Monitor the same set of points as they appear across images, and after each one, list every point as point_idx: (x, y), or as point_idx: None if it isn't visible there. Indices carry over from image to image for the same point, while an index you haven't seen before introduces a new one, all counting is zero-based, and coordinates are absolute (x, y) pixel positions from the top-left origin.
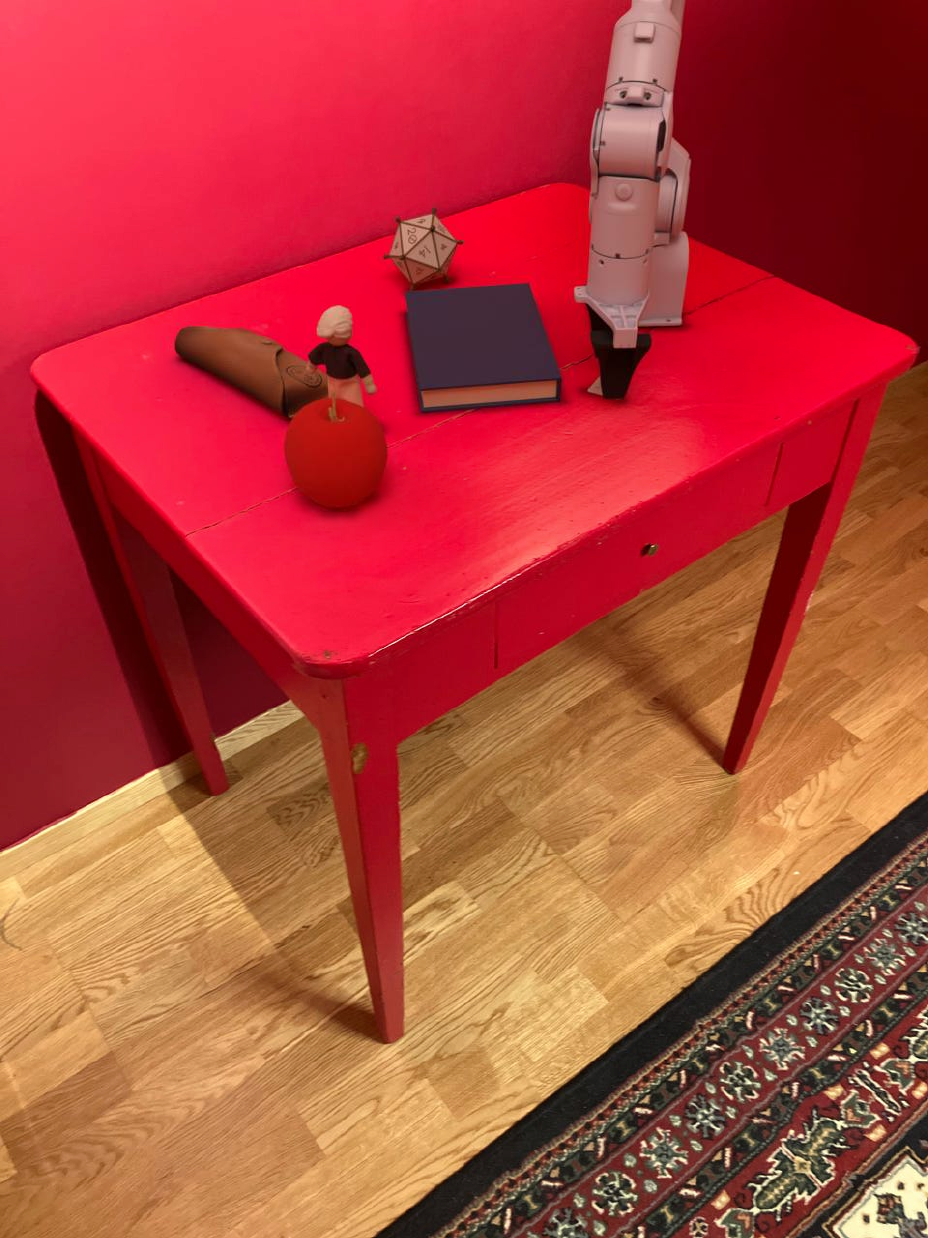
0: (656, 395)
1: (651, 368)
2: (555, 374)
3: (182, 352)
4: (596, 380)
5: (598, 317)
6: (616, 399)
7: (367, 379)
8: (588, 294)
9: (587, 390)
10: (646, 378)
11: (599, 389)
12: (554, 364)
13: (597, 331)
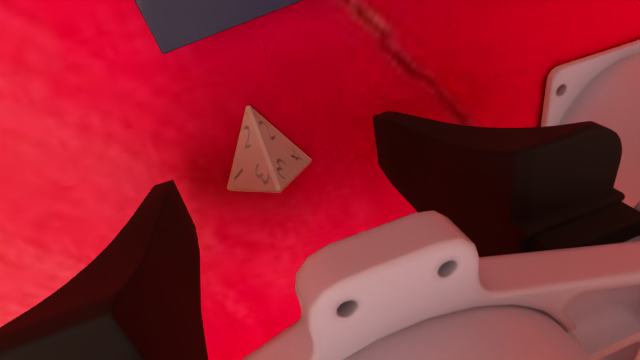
0: (271, 254)
1: (378, 219)
2: (174, 24)
3: None
4: (259, 140)
5: (450, 173)
6: (228, 183)
7: None
8: (353, 354)
9: (247, 106)
10: (337, 220)
11: (245, 143)
12: (249, 6)
13: (123, 345)
